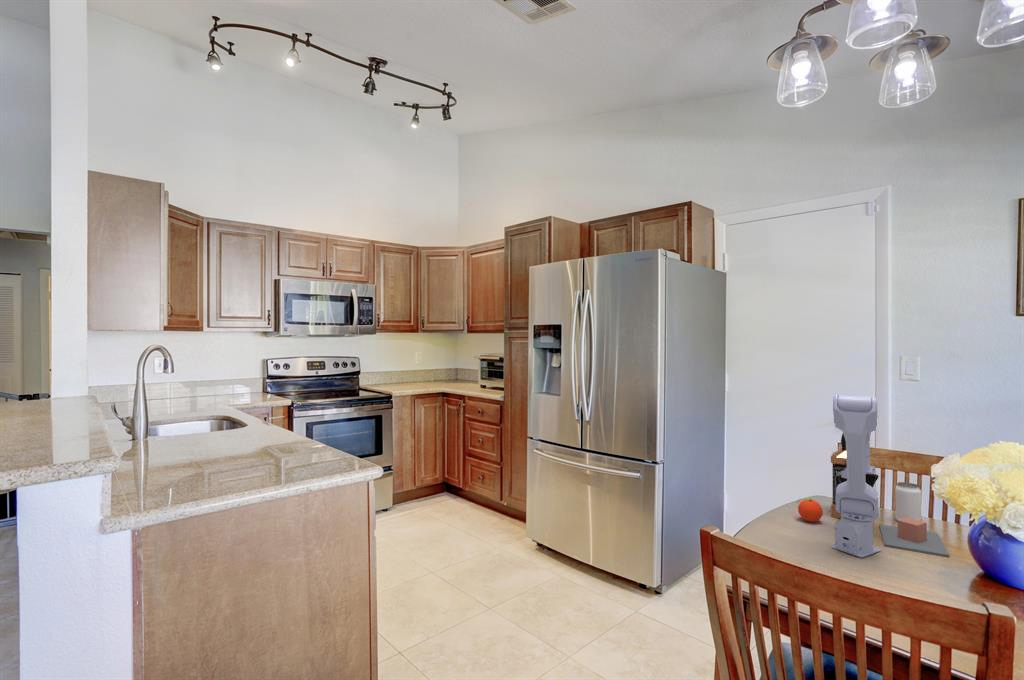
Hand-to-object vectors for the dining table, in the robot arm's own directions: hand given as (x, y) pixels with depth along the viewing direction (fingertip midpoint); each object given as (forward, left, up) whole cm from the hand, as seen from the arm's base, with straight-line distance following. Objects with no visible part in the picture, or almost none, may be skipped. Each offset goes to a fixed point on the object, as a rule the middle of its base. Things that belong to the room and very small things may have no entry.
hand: (858, 498), depth 154 cm
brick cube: (+4, -12, -9) cm, 15 cm away
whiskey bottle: (+10, +8, -10) cm, 16 cm away
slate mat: (+4, -12, -9) cm, 16 cm away
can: (+20, -4, -10) cm, 23 cm away
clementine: (-6, +12, -10) cm, 17 cm away
